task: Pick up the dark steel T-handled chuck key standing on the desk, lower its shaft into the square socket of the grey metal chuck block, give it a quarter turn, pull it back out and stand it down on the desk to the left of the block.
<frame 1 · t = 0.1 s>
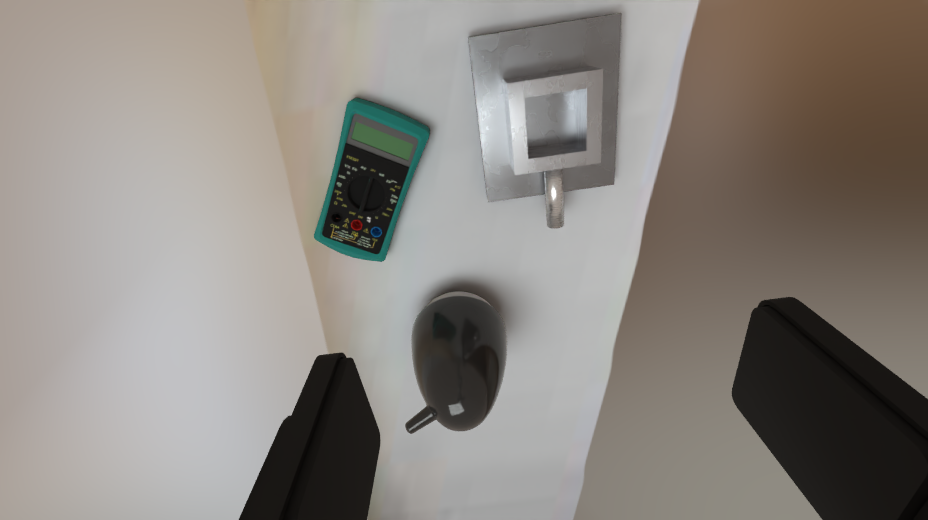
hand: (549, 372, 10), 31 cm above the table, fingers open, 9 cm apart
chuck block: (544, 114, 37), on the table
pump dispenser: (457, 313, 48), on the table
digital multimeter: (372, 180, 40), on the table
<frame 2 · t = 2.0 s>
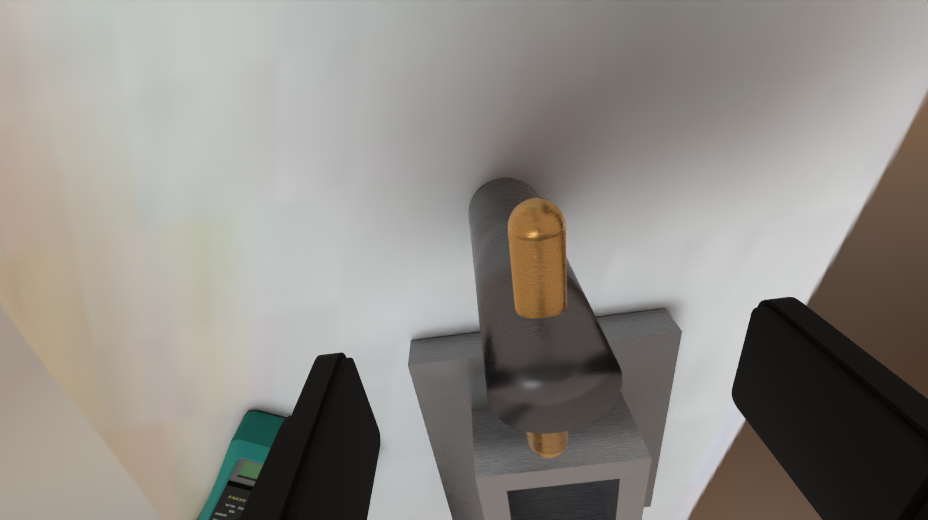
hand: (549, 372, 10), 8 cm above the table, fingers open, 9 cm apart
chuck block: (542, 420, 23), on the table
chuck key: (503, 212, 16), on the table
digital multimeter: (279, 482, 26), on the table
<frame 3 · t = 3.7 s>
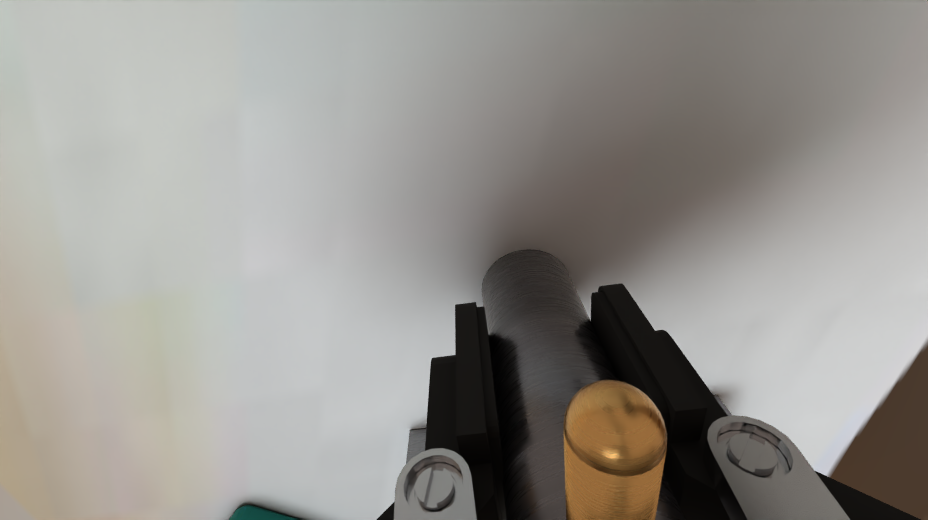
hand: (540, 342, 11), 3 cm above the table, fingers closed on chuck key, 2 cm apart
chuck block: (564, 514, 19), on the table
chuck key: (525, 288, 13), on the table, touching gripper
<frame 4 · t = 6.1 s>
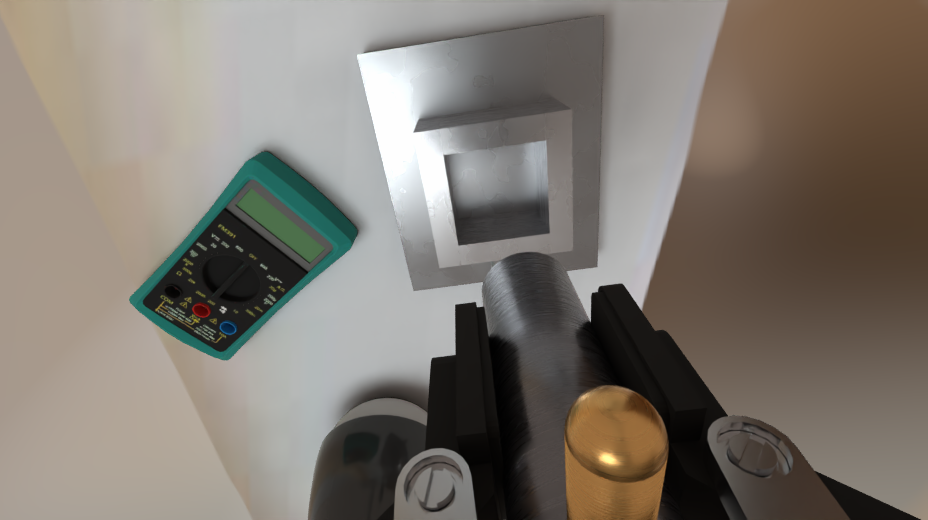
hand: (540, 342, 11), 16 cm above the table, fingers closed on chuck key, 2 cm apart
chuck block: (491, 167, 24), on the table
pump dispenser: (390, 419, 35), on the table
chuck key: (525, 290, 13), point 13 cm above the table, touching gripper
digital multimeter: (253, 255, 28), on the table
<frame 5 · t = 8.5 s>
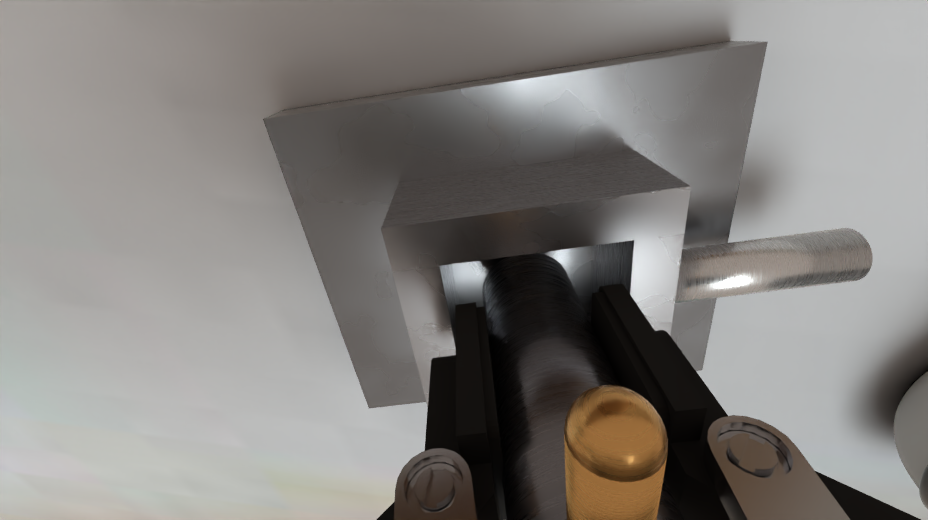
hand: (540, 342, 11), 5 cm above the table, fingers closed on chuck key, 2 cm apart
chuck block: (516, 246, 16), on the table
chuck key: (525, 290, 13), point 3 cm above the table, touching gripper
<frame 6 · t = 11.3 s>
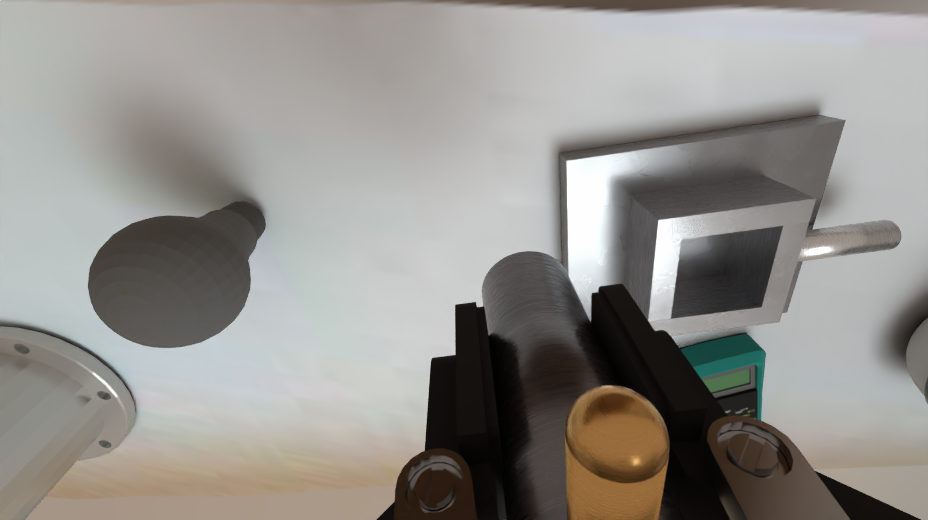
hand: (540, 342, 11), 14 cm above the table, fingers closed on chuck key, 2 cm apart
chuck block: (675, 233, 25), on the table
chuck key: (525, 290, 13), point 11 cm above the table, touching gripper
light bulb: (251, 214, 24), on the table
digital multimeter: (698, 402, 33), on the table
when the fingers open (4 cm above the table, at t = 13.6 s): chuck key drops 1 cm, on the table.
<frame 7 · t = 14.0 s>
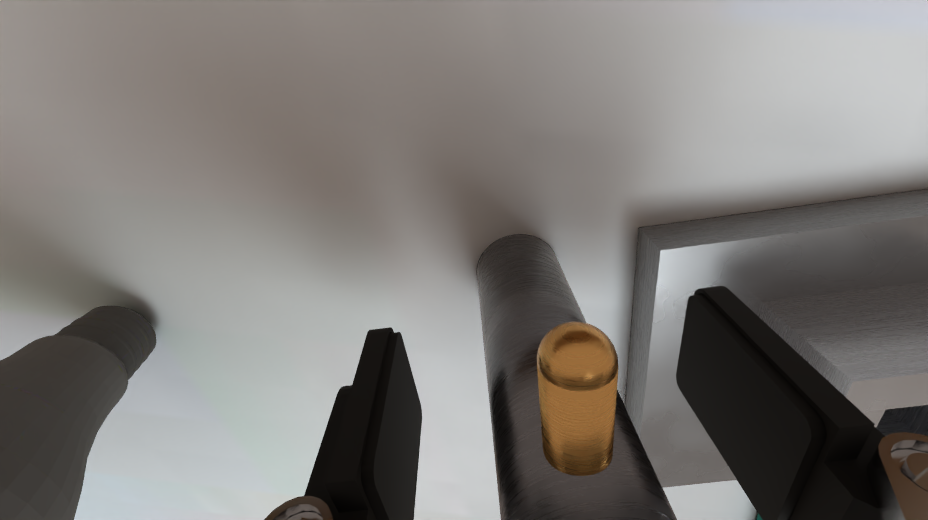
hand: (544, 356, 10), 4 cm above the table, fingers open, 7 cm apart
chuck block: (808, 341, 16), on the table
chuck key: (517, 270, 14), on the table
light bulb: (139, 316, 15), on the table
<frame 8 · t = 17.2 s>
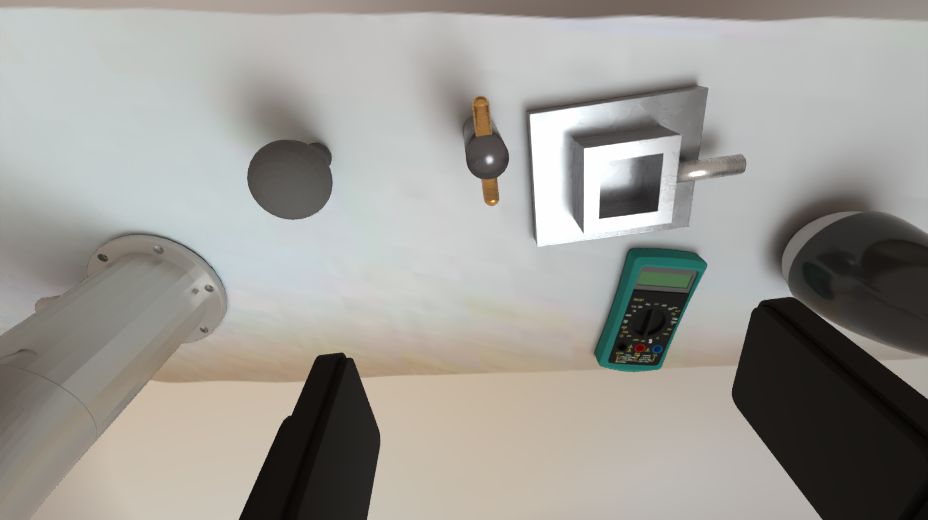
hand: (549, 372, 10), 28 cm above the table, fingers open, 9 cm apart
chuck block: (608, 169, 36), on the table
pump dispenser: (814, 244, 41), on the table
chuck key: (479, 131, 35), on the table
light bulb: (321, 153, 35), on the table
digital multimeter: (639, 304, 45), on the table
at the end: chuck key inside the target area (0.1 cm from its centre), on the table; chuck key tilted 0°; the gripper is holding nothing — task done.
